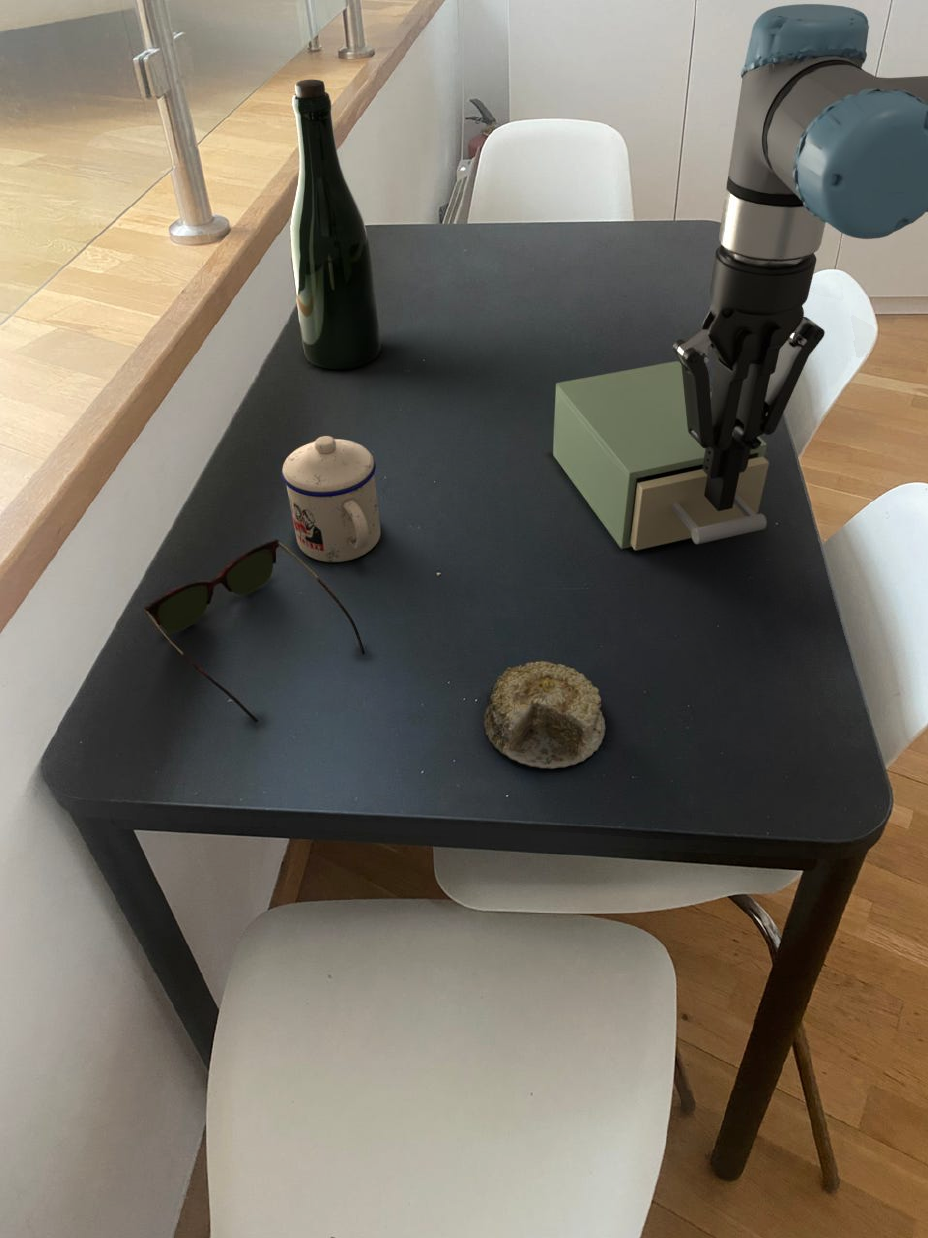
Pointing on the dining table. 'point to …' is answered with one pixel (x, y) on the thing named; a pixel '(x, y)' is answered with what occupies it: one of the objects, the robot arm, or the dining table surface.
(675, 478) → the pull-out drawer
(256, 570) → the sunglasses
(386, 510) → the dining table surface
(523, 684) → the cake
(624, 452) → the green drawer box
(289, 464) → the teacup with lid
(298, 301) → the green wine bottle
